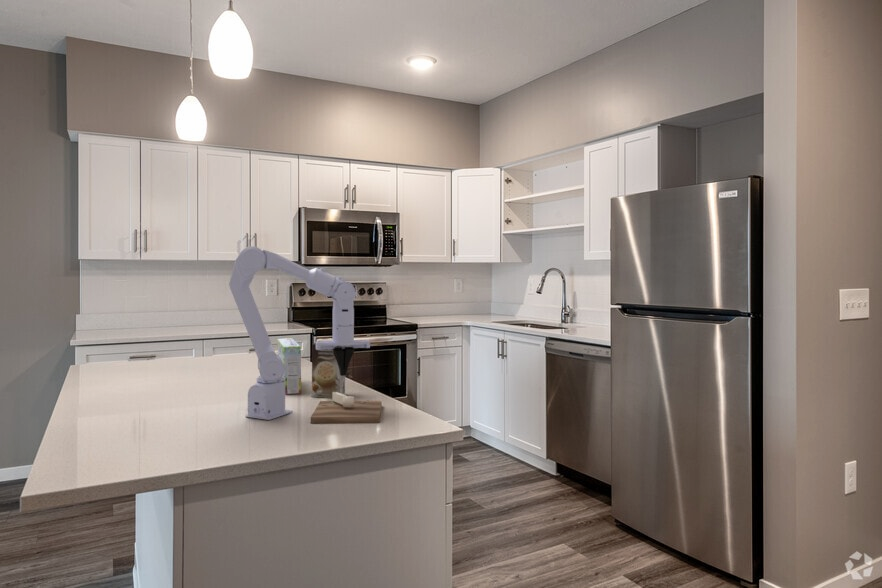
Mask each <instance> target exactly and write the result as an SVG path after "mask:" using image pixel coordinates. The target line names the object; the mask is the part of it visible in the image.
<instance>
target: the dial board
mask: <svg viewBox="0 0 882 588" xmlns="http://www.w3.org/2000/svg"><path fill="white" fill-rule="evenodd" d="M382 403H383V400H354V406H353V407H343V405H342V404H340V403H337V402H335V401H332V400H320V401H319V402H318V404H317V406H316V407H315V409H314V410H313V412H312V414H311V416H310V424H353V423H355V424H356V423H357V424H358V423H359V424H361V423H363V424H364V423H371V424H373V423H375V424H376V423H380V421H381V413H382V406H383V405H382Z"/></svg>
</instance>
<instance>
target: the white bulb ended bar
mask: <svg viewBox="0 0 882 588" xmlns="http://www.w3.org/2000/svg"><path fill="white" fill-rule="evenodd" d="M331 399H332V400H331V401H335V402H337V403H340V404H342V405H343V407H353V406H354V401H355V396H352V395H346V394H341V393H338V392H332V398H331Z"/></svg>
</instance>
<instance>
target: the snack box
mask: <svg viewBox="0 0 882 588" xmlns="http://www.w3.org/2000/svg"><path fill="white" fill-rule="evenodd" d="M301 349H302V348H301V345H300V344H298V342H297V341H296V340H294V339H293V337H290V338H289V337H286V338H277V355H278V356H279V357H280V358H281V360H282V362H283V363H284V366H285V372H284V375H283V377H285V396H287V395H289V396H290V395H300V394H302V364H301V363H302V358H301V357H302V353H301V352H302V351H301Z"/></svg>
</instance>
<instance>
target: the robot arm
mask: <svg viewBox="0 0 882 588" xmlns="http://www.w3.org/2000/svg"><path fill="white" fill-rule="evenodd" d="M232 267H233V268H232V272H231V275H230V279H229V283H228V285H229V290H230V291H231V294H232V296H233V299H234V302H235V304H236V306H237V309H238V312H239V314H240V317H241V319H242V322H243V324H244V327H245V329H246V331H247V334H248V336H249V339H250V341H251V345H252V346H253V349H254V351H255V354H256V357H257V369H258V370H259V376H258V377H256V382H255V384H253V385H251V386H250V387H249V389H248V391H247V414H245V415H244V416H245V417H246V418H252V419H253V418H254V419H260V420H266V421H267V420H268V421H270V420H274V419H276V418H279V417H282V416H286V415H288V414H291V413H293V410H292V409H286V395H285V377H283V375H284V372H285V366H284V363H283V362H282V360H281V358H280V357H279V356H278V353H276V352H275V348H274V347H273V345H272V341H271V340H270V336H269V335H268V331H267V329H266V327H265V323H264V322H263V321H264V320H263V318H262V316H261V313H260V312H259V311H260V310H259V309H258V307H257V303H256V301H255V299H254V296H253V294H252V291H251V289H250V285H251V283H252V281H253V279H254V277H255V275H256V274H257V273H258V272H259V271H260V270H262V269H263V268H264V270H267V269H277V270H278V271H281V272H283V273H285V274H288V275H291V276H293V277H296V278H299V279H300V280H302V281H304V283H305V285H306V287H307V288H308V289H311V290H312V291H315V292H317V293H319V294H321V295H324V296H326V297H329V298H330V297H331V298H332V303H333V304H332V340H327V341H326V340H325V341H316V342H315V343H316V350H321V349H332V351H333V353H334V355H335V358H336V360H337V363H338V366H339V371H340V375H341V376H345V377H346V376H347V372H348V368H349V366H350V362H351V360H352V358H353V356H354V354H355V349H370V348H371V340H369V339H365V340H362V339H361V340H355V339H354V338H355V335H354V334H355V329H354V328H355V307H354V305H355V304H354V300H355V298H356V297H357V292H356V288H355V286H354V285H353V283H351V282H348V281H345V280H342V277H341V276H339V275H337V276H335V275H333V274H331V273H329V272H326V269H325V268H323V267H320V268H318V267H315V268H312V269H308V268H306V267H304V266H302V265H300V264H299V263H296V262H294V261H292V260H290V259H288V258H286V257H284V256H282V255H280V254H278V253H275V252H273V251H269V250H266V249H263V250H262V249H261V248H259V247H257V246H252V245H251V246H246V247H244V248H243V249H242V250H241V251H240V253H239V254H238V256H237V257H236V259H235V260H234V264H233V266H232ZM337 346H343V347H337Z"/></svg>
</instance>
